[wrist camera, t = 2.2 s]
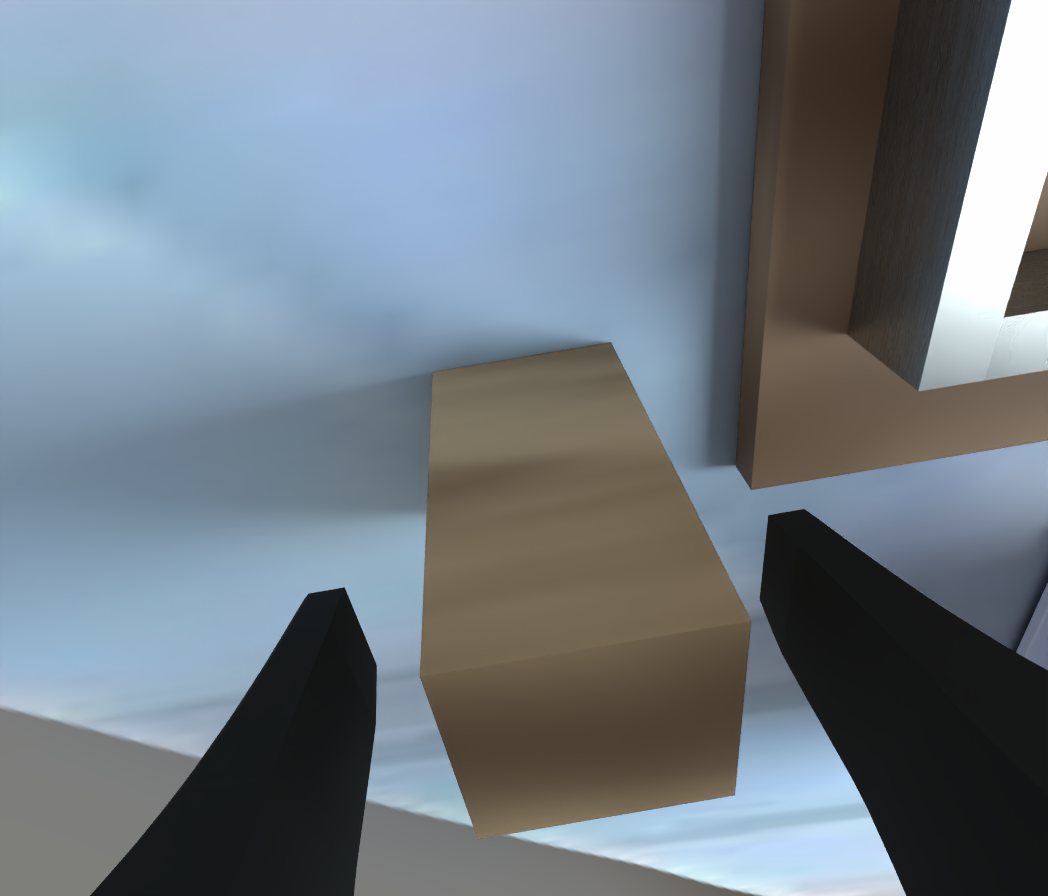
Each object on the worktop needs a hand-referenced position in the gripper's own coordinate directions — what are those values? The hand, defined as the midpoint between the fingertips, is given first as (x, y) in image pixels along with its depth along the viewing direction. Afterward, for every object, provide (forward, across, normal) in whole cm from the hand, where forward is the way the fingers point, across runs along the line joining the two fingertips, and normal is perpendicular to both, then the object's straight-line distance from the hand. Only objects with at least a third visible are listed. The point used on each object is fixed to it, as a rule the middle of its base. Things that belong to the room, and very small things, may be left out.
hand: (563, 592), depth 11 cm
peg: (+5, 0, 0) cm, 5 cm away
